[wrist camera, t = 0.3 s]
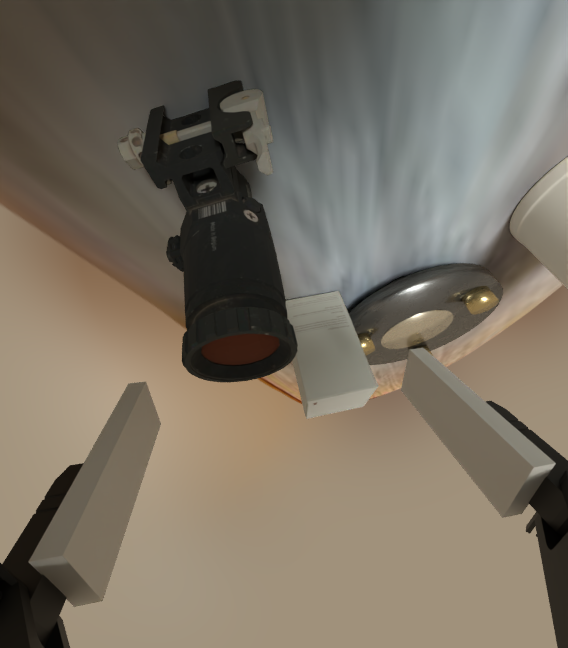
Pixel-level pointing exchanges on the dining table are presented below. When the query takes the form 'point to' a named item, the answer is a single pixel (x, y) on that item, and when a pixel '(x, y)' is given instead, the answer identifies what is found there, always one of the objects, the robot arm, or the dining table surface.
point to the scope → (221, 234)
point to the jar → (546, 221)
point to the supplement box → (328, 356)
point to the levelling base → (424, 310)
